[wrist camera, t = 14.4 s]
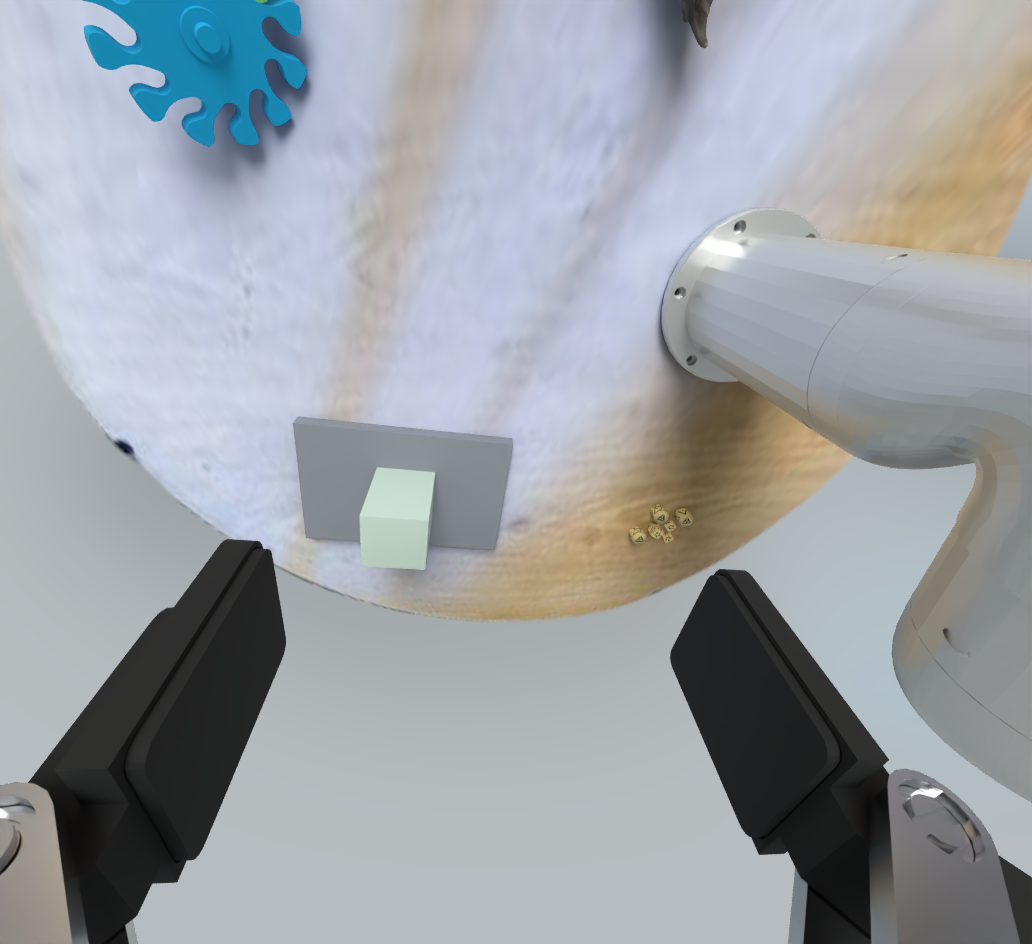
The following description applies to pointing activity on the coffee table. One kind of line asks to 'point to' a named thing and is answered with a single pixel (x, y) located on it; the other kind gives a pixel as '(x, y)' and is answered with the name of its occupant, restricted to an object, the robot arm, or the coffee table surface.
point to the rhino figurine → (697, 18)
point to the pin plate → (363, 447)
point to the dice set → (655, 529)
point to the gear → (203, 58)
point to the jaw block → (397, 519)
